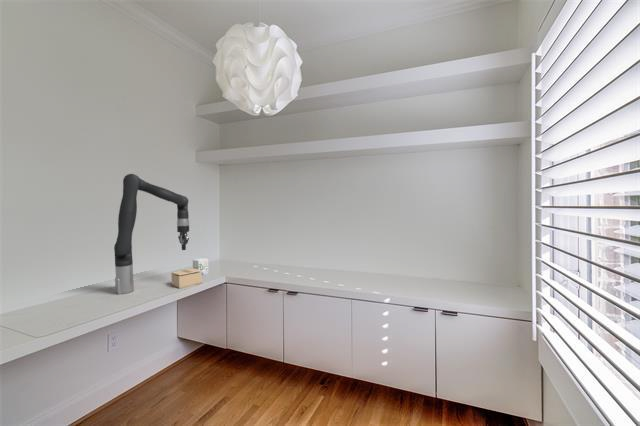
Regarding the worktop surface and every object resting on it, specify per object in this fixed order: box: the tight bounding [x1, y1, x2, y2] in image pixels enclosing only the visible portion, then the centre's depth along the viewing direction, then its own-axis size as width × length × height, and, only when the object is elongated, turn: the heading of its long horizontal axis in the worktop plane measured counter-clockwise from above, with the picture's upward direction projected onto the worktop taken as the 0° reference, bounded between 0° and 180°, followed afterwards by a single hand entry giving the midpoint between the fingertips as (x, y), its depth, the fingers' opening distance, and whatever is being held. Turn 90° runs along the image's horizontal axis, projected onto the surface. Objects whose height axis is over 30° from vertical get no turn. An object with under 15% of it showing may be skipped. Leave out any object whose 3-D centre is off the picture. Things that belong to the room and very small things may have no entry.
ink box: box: [192, 257, 209, 276], centre depth 229 cm, size 8×8×12 cm
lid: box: [171, 268, 201, 276], centre depth 201 cm, size 15×13×1 cm
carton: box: [171, 271, 203, 290], centre depth 201 cm, size 15×13×8 cm
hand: (183, 250), depth 202 cm, fingers closed
